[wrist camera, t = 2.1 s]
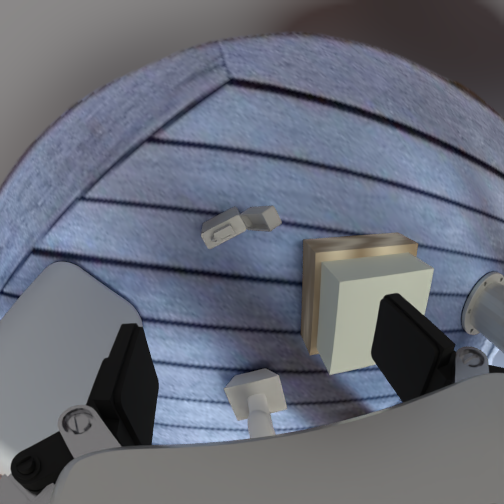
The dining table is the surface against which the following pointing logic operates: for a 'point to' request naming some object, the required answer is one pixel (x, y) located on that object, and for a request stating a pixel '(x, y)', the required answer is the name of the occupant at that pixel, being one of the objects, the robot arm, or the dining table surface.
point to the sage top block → (363, 303)
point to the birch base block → (339, 250)
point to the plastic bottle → (53, 352)
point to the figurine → (256, 400)
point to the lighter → (238, 224)
